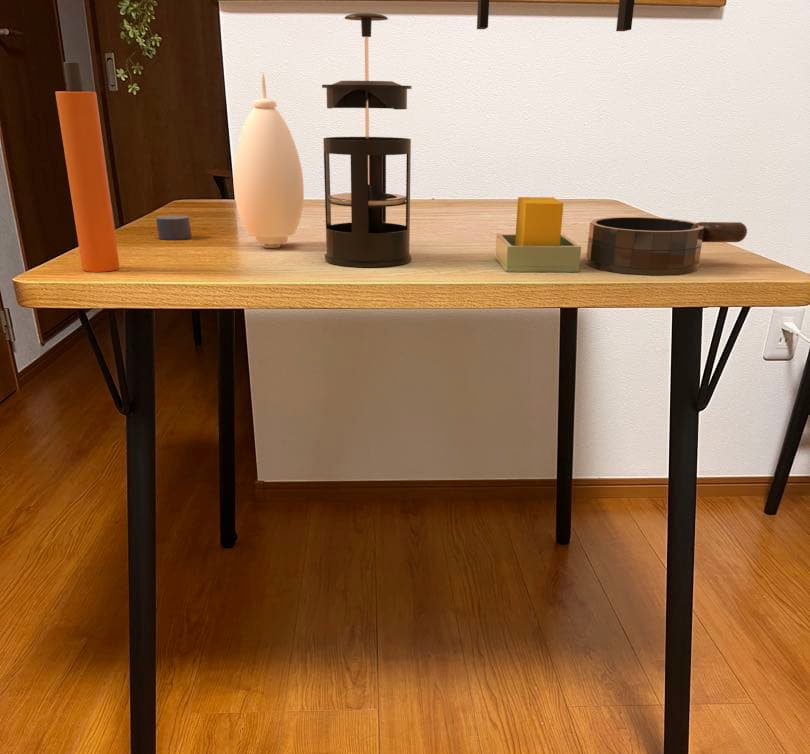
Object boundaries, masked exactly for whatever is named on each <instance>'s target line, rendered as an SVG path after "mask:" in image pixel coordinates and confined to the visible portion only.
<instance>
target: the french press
mask: <svg viewBox="0 0 810 754" xmlns="http://www.w3.org/2000/svg"><path fill="white" fill-rule="evenodd" d="M344 20H348V21H349V20H350V21H360V23H361V24H360V25H361V38H364V80H340V81H337V82H334V83H332V84H321V89H325V90H326V109H329V110H331V109H364V111H365V112H364V113H365V114H364V120H365V125H364V127H365V129H364V130H365V134H364V135H365V136H330V137H324V138H323V139H322V140H323V170H324V171H323V174H324V176H323V177H324V207H325V209H324V210H325V241H326V242H325V244H326V247H325V248H326V253H325V254H324V260H325V262H327V263H329V264H332V265H336V266H343V267H349V268H350V267H351V268H354V267H355V268H384V267H385V268H387V267H396V265H397V266H401V265H405V264H408V263H410V262H411V261H412V254H411V253H410V244H411V243H410V241H411V239H410V238H411V237H410V235H411V226H410V225H411V169H412V168H411V167H412V165H411V164H412V163H411V161H412V159H411V158H412V157H411V156H412V154H411V153H412V140H411V139H412V138H406V137H393V136H392V137H391V136H370V109H389V110H390V109H391V110H408V90H412V88H413V87H412V85H402V84H399V83H397V82H394V81H391V80H369V78H370V76H369V75H370V73H369V38H371V37H372V22H373V21H374V22H378V21H379V22H380V21H387V20H389V17H388V16H386V15H384V14H380V13H373V12H357V13H350V14H348V15H345V16H344ZM331 154H332V155H342V156H343V155H344V156H350V192H343V193H334V194H331V168H330V155H331ZM403 155H406V169H405V170H406V171H405V172H406V175H405V177H406V178H405V183H406V184H405V185H406V186H405V195H402V194H398V193H389V192H387V156H403ZM332 205H335V206H341V207H350V209H351V210H350V213H351V222H341V223H340V222H339V223H334V224H332V207H331V206H332ZM404 205H405V224H401V223H392V222H387V207H399V206H404Z"/></svg>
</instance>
